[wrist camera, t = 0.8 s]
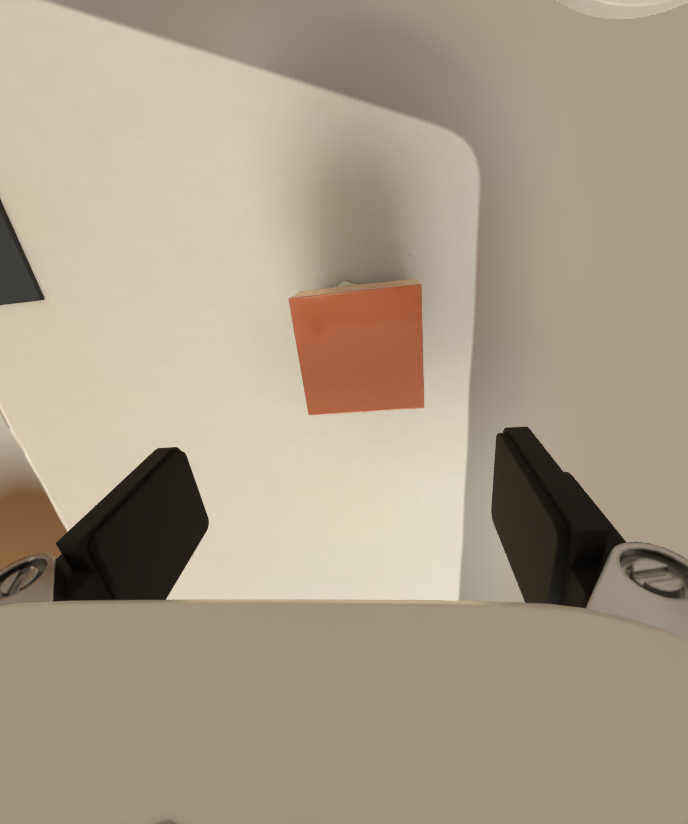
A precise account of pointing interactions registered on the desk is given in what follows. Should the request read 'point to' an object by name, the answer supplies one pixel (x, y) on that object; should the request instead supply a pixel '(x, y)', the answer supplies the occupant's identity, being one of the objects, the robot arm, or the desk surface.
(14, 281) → the mat
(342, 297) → the orange flat block
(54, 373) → the desk surface
